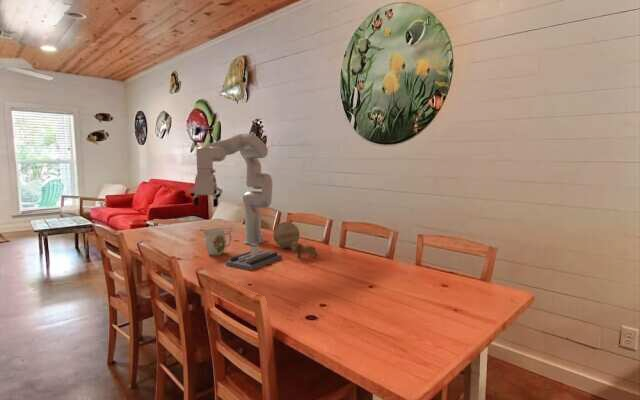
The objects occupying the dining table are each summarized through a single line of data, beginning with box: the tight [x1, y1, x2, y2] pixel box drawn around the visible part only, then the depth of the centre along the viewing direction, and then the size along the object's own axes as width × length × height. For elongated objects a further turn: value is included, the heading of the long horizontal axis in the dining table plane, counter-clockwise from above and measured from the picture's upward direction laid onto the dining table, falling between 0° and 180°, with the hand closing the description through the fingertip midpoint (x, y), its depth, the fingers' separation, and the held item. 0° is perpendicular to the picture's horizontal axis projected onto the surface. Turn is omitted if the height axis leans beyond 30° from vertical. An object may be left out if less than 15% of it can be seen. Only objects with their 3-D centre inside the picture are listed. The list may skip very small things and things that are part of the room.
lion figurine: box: [290, 242, 319, 260], centre depth 200 cm, size 15×5×9 cm, turn 107°
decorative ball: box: [273, 221, 300, 249], centre depth 221 cm, size 15×15×15 cm
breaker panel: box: [225, 249, 283, 271], centre depth 193 cm, size 24×16×4 cm, turn 149°
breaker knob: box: [249, 243, 260, 257], centre depth 193 cm, size 3×3×7 cm
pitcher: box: [201, 227, 233, 256], centre depth 208 cm, size 11×18×14 cm, turn 136°
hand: (206, 206), depth 190 cm, fingers open, 9 cm apart
